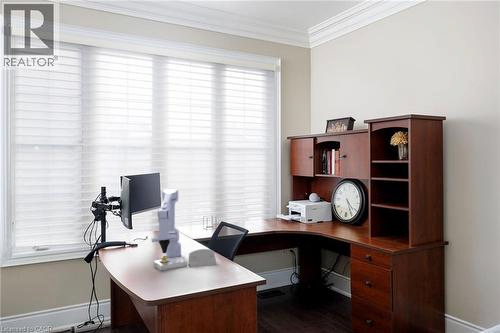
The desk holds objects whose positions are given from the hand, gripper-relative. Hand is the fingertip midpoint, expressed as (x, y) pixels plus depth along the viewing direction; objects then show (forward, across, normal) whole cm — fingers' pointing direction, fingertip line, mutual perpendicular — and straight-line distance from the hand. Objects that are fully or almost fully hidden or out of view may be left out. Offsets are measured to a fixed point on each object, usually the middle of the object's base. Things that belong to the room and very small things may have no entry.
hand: (164, 252), depth 215 cm
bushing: (+8, 0, 0) cm, 8 cm away
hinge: (+9, +21, -7) cm, 24 cm away
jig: (+8, +4, 0) cm, 9 cm away
